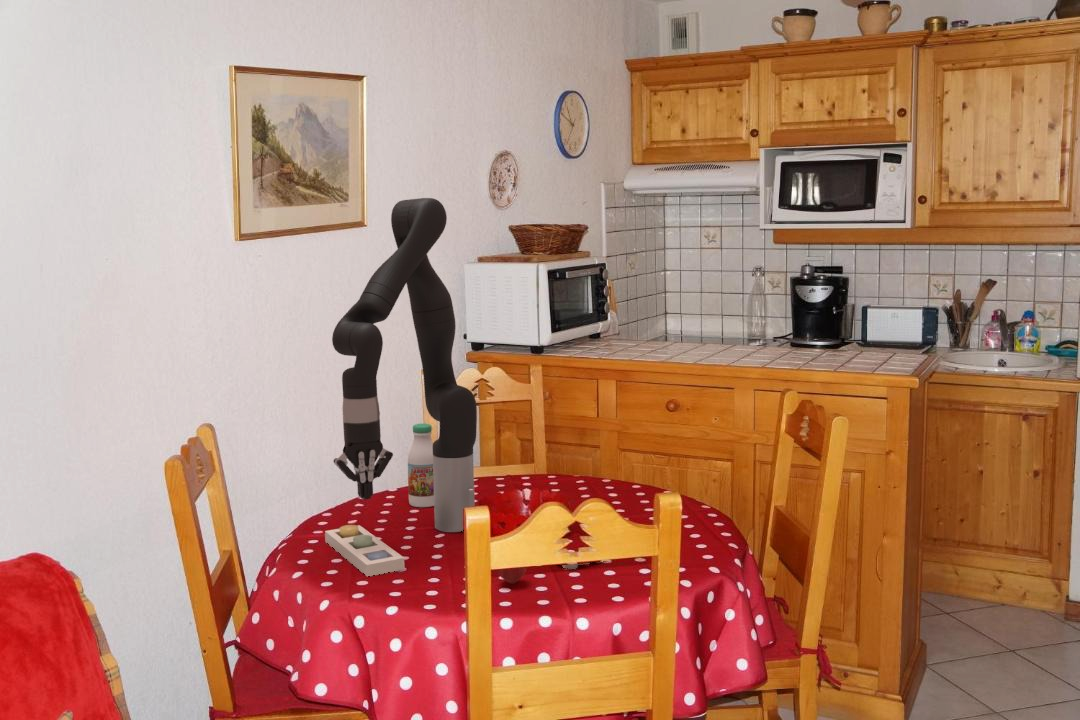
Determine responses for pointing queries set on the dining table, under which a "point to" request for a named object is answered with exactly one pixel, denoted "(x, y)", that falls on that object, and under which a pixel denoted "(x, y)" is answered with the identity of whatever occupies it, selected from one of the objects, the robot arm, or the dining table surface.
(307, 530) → the dining table surface
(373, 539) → the button panel
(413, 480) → the milk bottle
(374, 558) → the blue button
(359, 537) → the sage button
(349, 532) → the ochre button
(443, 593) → the dining table surface
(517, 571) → the onion
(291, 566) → the dining table surface
